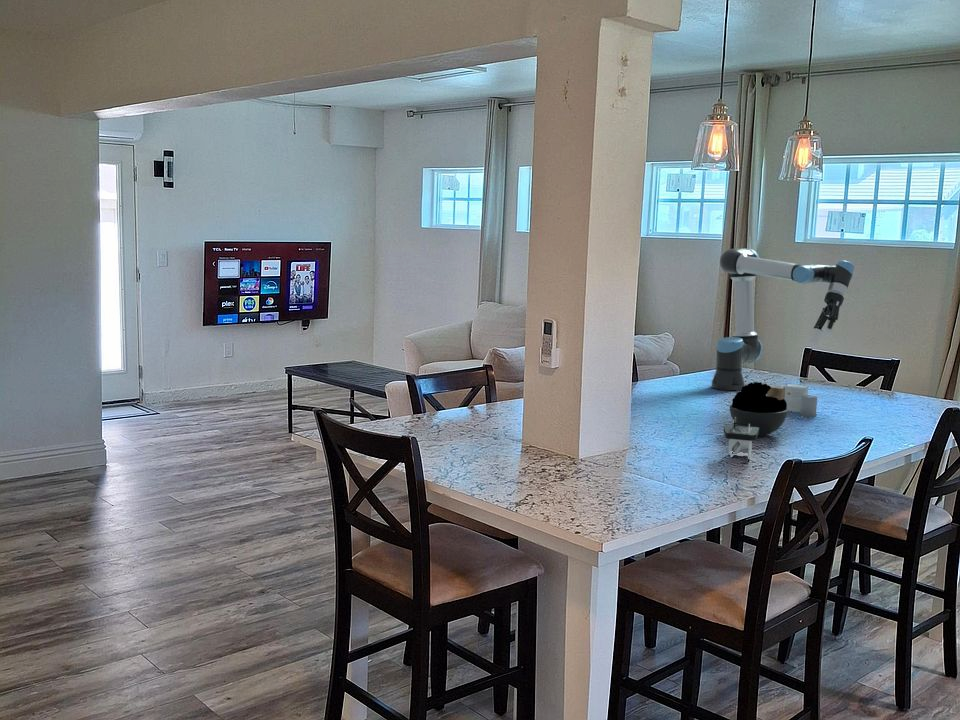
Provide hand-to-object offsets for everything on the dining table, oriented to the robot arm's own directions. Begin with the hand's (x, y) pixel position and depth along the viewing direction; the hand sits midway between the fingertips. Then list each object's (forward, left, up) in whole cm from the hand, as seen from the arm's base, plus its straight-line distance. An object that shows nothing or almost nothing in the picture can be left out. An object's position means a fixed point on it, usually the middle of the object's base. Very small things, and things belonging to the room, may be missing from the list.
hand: (819, 339), depth 385 cm
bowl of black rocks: (-2, -77, -28) cm, 82 cm away
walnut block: (-12, -17, -27) cm, 34 cm away
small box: (-2, -24, -28) cm, 37 cm away
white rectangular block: (+5, -32, -27) cm, 42 cm away
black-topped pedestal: (+3, -116, -28) cm, 119 cm away
